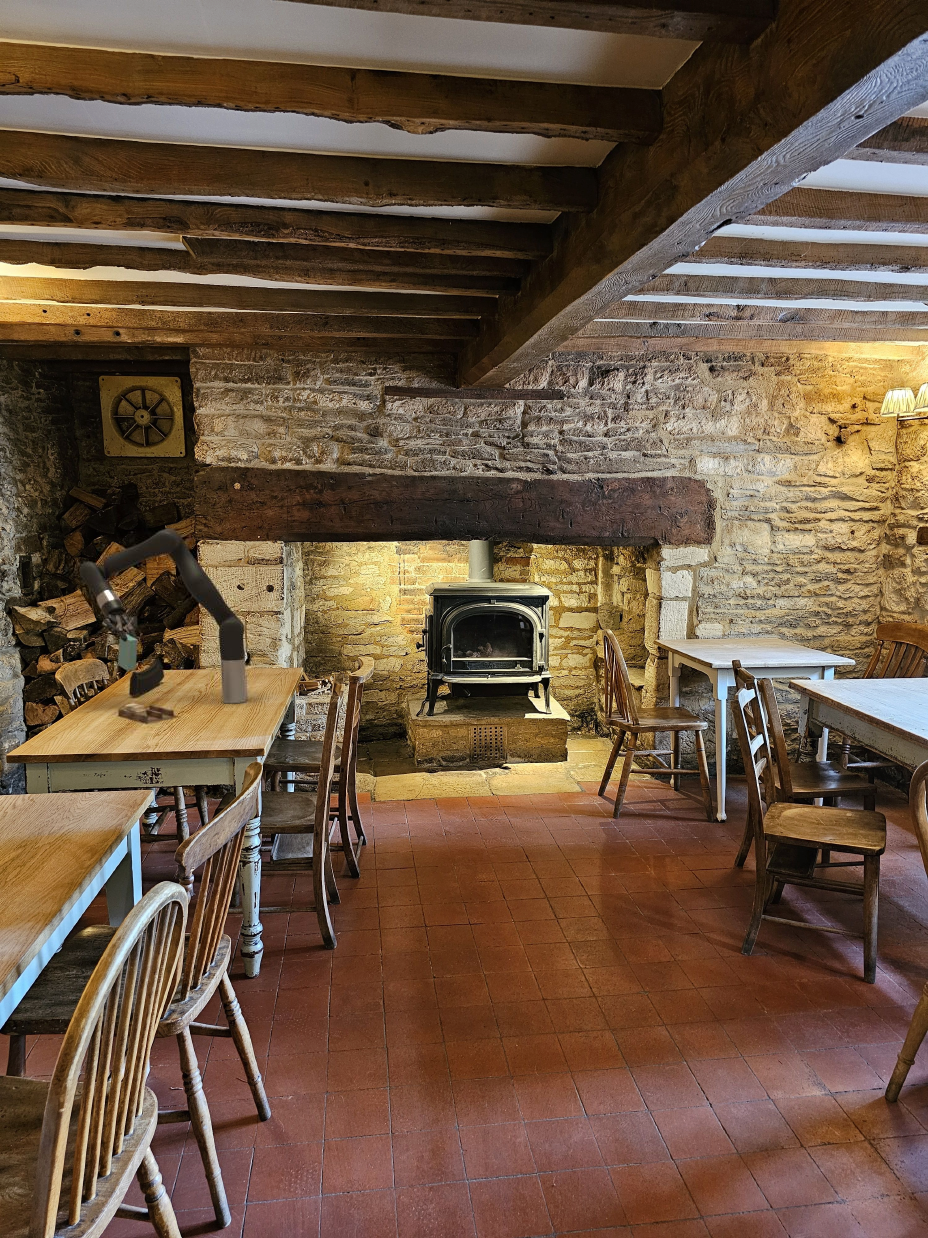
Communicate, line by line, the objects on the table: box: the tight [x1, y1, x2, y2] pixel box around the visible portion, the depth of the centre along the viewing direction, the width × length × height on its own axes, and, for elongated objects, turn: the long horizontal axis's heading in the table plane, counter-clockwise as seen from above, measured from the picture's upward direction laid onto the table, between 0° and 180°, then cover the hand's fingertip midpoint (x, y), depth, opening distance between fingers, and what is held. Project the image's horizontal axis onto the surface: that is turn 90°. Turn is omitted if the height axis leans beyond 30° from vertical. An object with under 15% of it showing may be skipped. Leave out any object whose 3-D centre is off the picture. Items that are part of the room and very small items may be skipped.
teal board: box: [117, 633, 139, 672], centre depth 304 cm, size 7×3×12 cm, turn 53°
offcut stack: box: [125, 703, 147, 716], centre depth 293 cm, size 8×4×4 cm, turn 53°
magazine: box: [128, 659, 165, 697], centre depth 342 cm, size 17×3×30 cm
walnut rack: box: [116, 704, 181, 725], centre depth 294 cm, size 20×13×4 cm, turn 53°
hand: (130, 639), depth 302 cm, fingers closed on teal board, 3 cm apart
